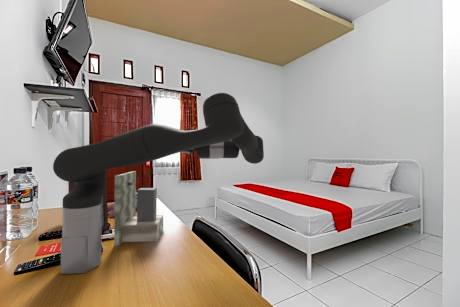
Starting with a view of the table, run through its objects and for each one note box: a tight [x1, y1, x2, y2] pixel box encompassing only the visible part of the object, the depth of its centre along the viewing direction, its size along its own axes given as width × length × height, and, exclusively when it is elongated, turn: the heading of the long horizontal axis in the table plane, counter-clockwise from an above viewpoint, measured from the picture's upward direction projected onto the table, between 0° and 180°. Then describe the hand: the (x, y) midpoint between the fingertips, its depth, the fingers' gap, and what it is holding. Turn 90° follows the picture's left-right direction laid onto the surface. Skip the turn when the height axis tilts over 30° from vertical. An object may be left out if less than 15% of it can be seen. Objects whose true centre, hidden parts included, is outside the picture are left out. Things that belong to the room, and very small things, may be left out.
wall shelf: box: [113, 170, 164, 247], centre depth 86 cm, size 18×14×24 cm
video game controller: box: [108, 202, 115, 218], centre depth 114 cm, size 10×5×7 cm, turn 50°
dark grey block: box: [136, 187, 158, 222], centre depth 86 cm, size 4×6×12 cm
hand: (166, 147), depth 81 cm, fingers open, 8 cm apart
